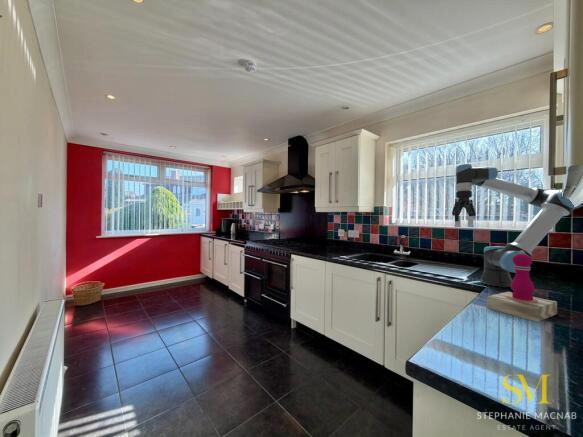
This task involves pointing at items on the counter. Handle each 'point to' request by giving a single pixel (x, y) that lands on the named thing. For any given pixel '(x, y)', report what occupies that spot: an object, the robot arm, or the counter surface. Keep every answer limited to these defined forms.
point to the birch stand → (522, 306)
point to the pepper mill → (522, 277)
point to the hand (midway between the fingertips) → (464, 227)
